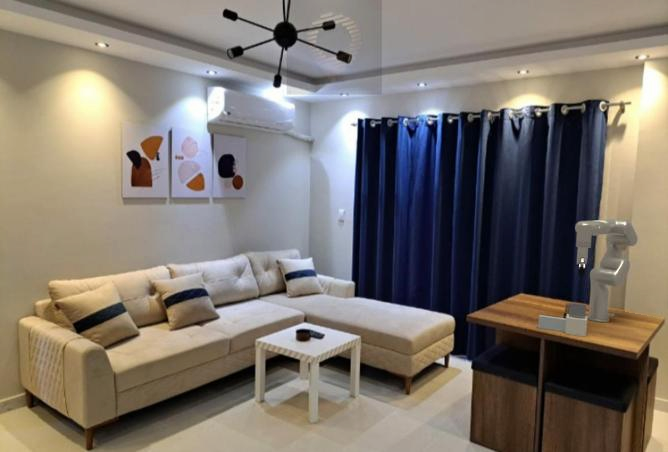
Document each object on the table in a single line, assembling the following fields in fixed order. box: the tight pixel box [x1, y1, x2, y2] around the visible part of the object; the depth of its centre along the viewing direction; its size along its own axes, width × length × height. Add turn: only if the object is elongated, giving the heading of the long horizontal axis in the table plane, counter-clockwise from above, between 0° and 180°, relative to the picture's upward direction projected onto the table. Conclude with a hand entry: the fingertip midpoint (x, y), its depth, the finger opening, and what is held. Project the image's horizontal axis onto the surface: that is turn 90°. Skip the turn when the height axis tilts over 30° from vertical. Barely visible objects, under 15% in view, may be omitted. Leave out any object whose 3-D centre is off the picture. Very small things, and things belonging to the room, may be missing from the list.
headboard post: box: [537, 314, 588, 338], centre depth 267 cm, size 9×24×9 cm, turn 62°
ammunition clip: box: [563, 301, 570, 319], centre depth 282 cm, size 11×2×12 cm, turn 14°
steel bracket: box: [569, 301, 587, 319], centre depth 263 cm, size 3×8×11 cm, turn 62°
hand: (581, 274), depth 276 cm, fingers open, 9 cm apart
